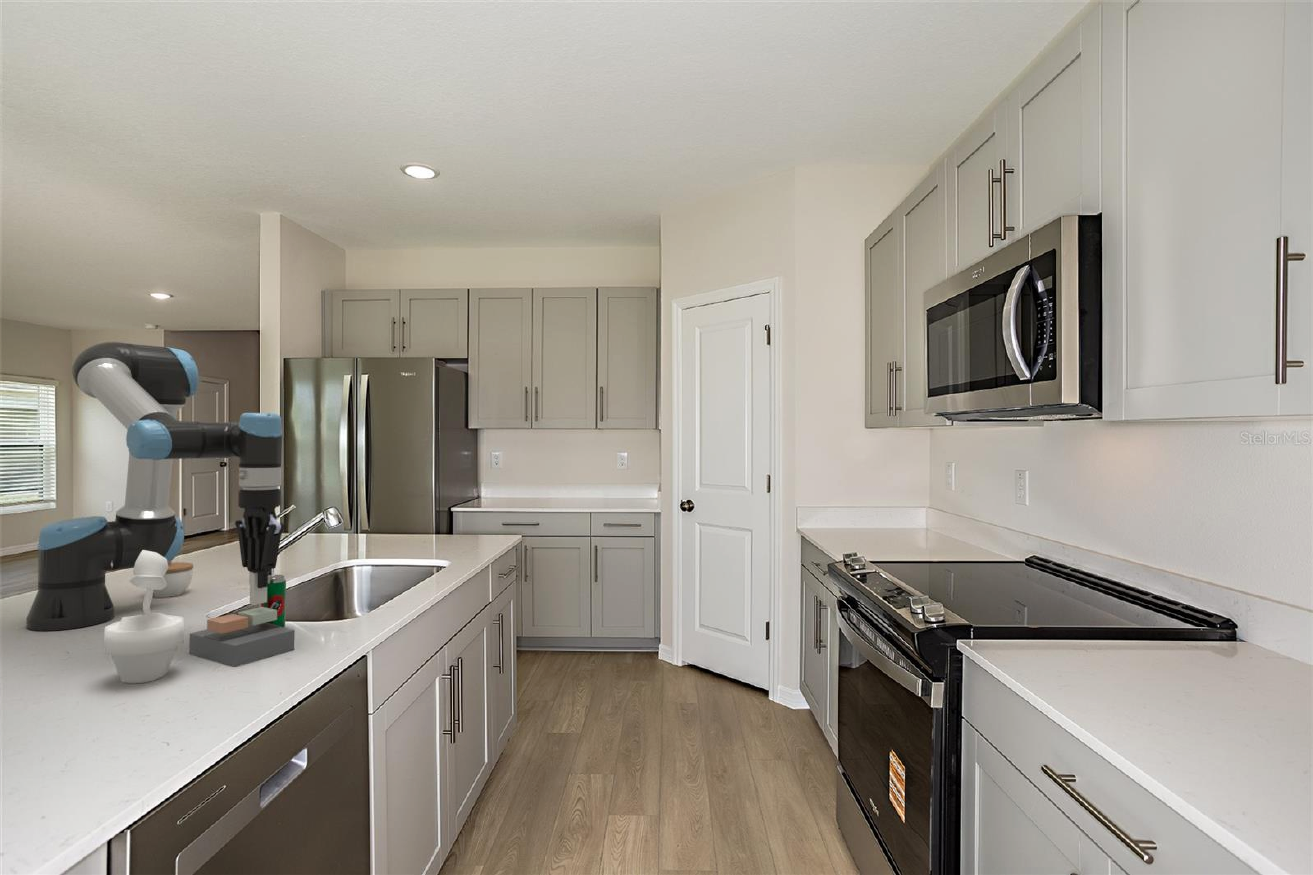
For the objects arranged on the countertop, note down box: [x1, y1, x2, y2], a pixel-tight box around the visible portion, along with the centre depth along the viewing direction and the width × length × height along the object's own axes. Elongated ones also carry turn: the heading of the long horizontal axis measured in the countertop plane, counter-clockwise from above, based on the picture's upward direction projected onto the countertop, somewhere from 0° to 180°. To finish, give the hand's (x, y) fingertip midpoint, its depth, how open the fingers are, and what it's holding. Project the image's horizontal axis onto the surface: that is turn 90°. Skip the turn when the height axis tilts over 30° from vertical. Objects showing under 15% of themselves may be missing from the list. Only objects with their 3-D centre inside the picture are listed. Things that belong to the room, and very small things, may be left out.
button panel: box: [188, 623, 296, 668], centre depth 136 cm, size 15×12×4 cm
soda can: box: [259, 574, 287, 628], centre depth 150 cm, size 5×5×12 cm
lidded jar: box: [152, 561, 194, 598], centre depth 181 cm, size 11×11×9 cm
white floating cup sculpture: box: [103, 550, 185, 685], centre depth 120 cm, size 13×12×25 cm
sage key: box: [237, 606, 277, 625], centre depth 138 cm, size 5×5×2 cm
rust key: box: [206, 613, 248, 634], centre depth 133 cm, size 5×5×2 cm
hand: (258, 603), depth 138 cm, fingers closed
